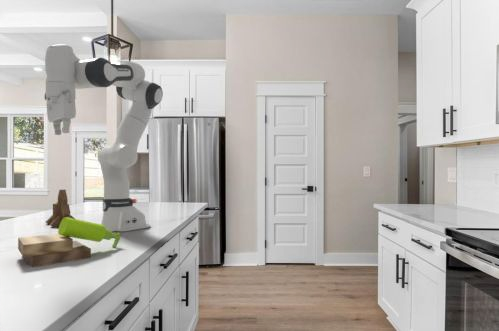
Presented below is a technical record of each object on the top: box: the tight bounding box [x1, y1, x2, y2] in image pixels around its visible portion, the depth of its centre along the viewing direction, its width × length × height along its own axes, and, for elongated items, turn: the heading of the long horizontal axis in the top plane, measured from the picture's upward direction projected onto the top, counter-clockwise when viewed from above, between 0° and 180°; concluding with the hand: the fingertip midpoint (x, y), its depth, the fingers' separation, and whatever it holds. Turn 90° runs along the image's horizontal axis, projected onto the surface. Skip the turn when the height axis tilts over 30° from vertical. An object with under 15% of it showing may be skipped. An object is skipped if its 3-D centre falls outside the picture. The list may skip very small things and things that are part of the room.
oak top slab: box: [17, 233, 74, 258], centre depth 108 cm, size 13×13×4 cm
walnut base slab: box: [21, 240, 92, 268], centre depth 110 cm, size 16×16×4 cm
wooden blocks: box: [45, 189, 76, 228], centre depth 168 cm, size 25×12×18 cm, turn 41°
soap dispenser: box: [57, 217, 122, 249], centre depth 117 cm, size 6×7×20 cm
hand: (61, 134), depth 116 cm, fingers open, 8 cm apart
